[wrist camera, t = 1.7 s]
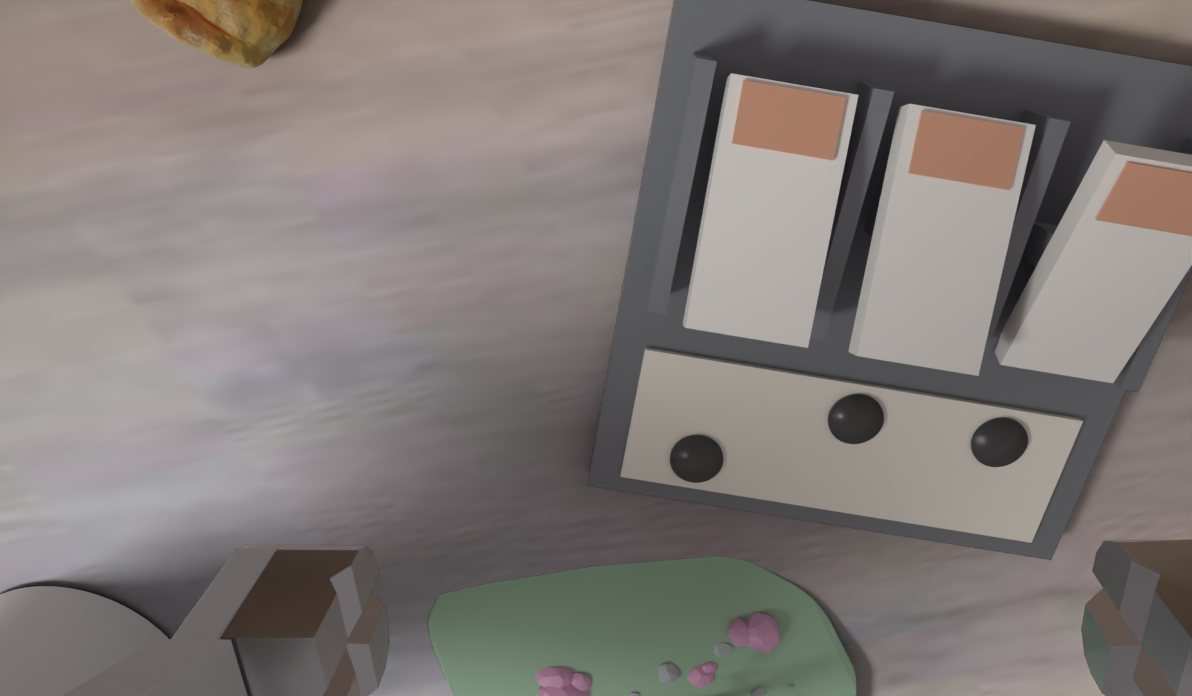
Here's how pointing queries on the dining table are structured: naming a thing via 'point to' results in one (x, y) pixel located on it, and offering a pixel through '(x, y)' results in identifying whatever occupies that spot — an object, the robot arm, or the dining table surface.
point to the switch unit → (826, 369)
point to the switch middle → (940, 238)
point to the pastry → (226, 25)
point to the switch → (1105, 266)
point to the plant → (640, 634)
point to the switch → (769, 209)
